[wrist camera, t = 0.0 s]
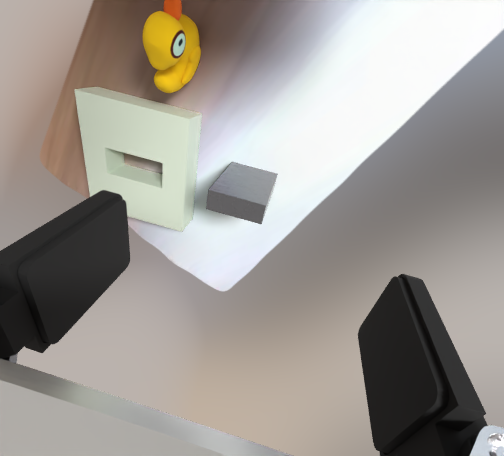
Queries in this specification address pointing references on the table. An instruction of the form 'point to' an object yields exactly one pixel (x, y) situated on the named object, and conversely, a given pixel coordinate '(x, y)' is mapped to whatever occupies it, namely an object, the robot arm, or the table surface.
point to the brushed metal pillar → (242, 192)
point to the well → (141, 153)
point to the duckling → (171, 46)
